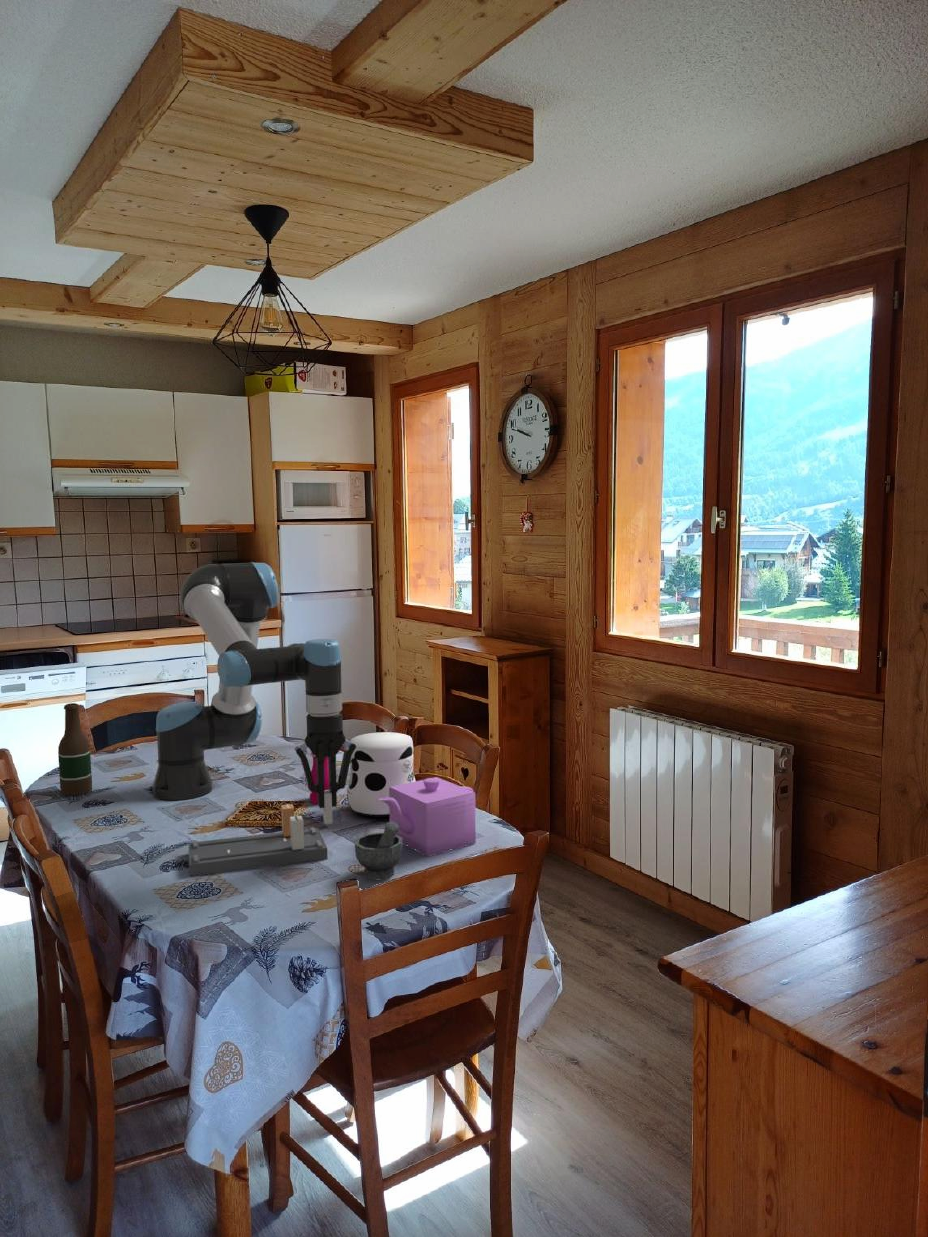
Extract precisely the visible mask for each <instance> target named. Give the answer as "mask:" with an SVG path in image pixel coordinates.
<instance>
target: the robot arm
mask: <svg viewBox="0 0 928 1237" xmlns="http://www.w3.org/2000/svg"><path fill="white" fill-rule="evenodd" d="M278 587H279V586H278V582H277V578H276V574H275V573H274V570H273V569H272V567H271V566H270V565H269V564H268V563H265V562H254V561H251V562H237V563H235V562H234V563H210V564H206V565H205V564H204V565H202V566H200V567H198V568H196V569H194V570H193V571H192V572H191V573H189V575H188V576H187V577H186V578H185V580H184V581H183V583H182V585H181V589H180V592H179V595H180V603H181V606H182V608H183V610H184V611H185V613H186V614H187V615H188V617H190V618H191V619H192V620H195V621H196V622H197V623H198V625H199V627H200V628H201V630H202V632H203V633H204V635H205V637H206V638H207V640H208V641H209V642H210V644H211V645H212V647H213V649H214V650H215V652H216V653H217V655H218V659H217V664H216V667H217V668H216V670H217V676H218V677H219V681H218V683H219V684H218V690H217V692H216V693H215V694H213V696H212V697H211V702H210V703H211V705H206V706H204V705H202V703H201V702H200V701H183V702H178V703H174V704H171V705H168V706H166V707H163V708H162V709H161V710H159V711H158V712H157V715H156V723H155V724H156V726H155V731H156V740H157V741H156V742H157V758H158V759H157V760H158V761H157V762H158V765H157V770H156V773H155V777H154V780H153V783H152V796H153V797H154V798H156V799H160V800H164V801H166V800H168V801H178V800H182V801H183V800H188V799H194V798H198V797H202V796H204V795H207V794H209V793H210V792H212V790H213V780H212V778H211V775H210V772H209V770H208V768H207V765H206V764H207V763H206V762H205V751H207V750H213V749H220V748H221V749H222V748H227V747H235V746H239V747H240V746H243V745H246V744H250V743H253V742H254V741H256V740H257V739H258V737H259V735H260V732H261V729H262V725H263V723H262V722H263V721H262V720H263V719H262V716H263V715H262V709H261V707H260V705H259V703H258V702H257V701H256V698H255V697H254V696H253V695H252V690H253V689H252V688H253V686H256V685H264V684H273V683H283V682H291V681H304V683H305V684H304V685H305V711H306V713H308V714H306V737H305V738H304V742H303V743H302V744H300V745H298V746H295V748H294V750H295V753H296V755H297V756H298V757H299V759H300V762H301V765H302V768H303V772H304V776H305V779H306V782H307V783H308V786H309V789H310V790H311V791H310V790H309V789H308V790H309V791H310V792H311V793H312V792H317V793H318V804H317V805H318V807H319V809H322V811H323V812H322V813H323V822H324V824H325V825H329V824H331V825H332V824H333V808H334V807H337V804H338V802H337V800H338V796H337V793H338V791H339V790H341V789H345V787H346V783H347V779H348V778H347V777H348V774H349V770H350V760H351V755H352V753H353V752H354V750H355V748H356V745H355V744H354V743H353V742H350V741H351V740H350V741H349V740H348V739H346V738H347V737H346V735H345V734H344V724H343V720H344V719H343V718H344V717H343V714H342V712H341V711H343V696H342V654H341V646H340V643H339V641H338V640H336V639H333V638H331V639H329V638H317V639H309V640H307V641H306V642H305V643H302V642H301V643H299V642H298V643H290V644H289V645H286V646H277V647H266V648H258V644H259V637H260V636H259V635H260V627H261V623H262V622H263V621H265V620H266V619H267V617H268V611H269V609H273V608H275V607H277V606H278V604H279V588H278ZM342 748H343V750H344V751H343V755H342V760H341V764H340V768H339V774H338V780H337V754H338V753H339V751H340V750H341V749H342ZM308 749H309V750H310V752H311V751H312V752H313V754H314V755H315V756H316V767H317V785H315V784H314V780H313V777H312V773H311V770H312V769H311V767H310V763H309V760H308V757H307V756H306V755H307V754H308ZM326 756H328V765H329V788H330V790H325V789H324V757H326ZM307 783H306V784H307Z"/></svg>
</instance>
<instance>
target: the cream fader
mask: <svg viewBox="0 0 928 1237" xmlns="http://www.w3.org/2000/svg"><path fill="white" fill-rule="evenodd" d="M304 830H305V829H304V819H303V816H302V815H294V816H293V817H290V834H291V847H292V850H296V849H304Z"/></svg>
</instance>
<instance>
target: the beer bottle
mask: <svg viewBox="0 0 928 1237" xmlns="http://www.w3.org/2000/svg"><path fill="white" fill-rule="evenodd" d="M79 709H80V704H78V703H76V702H73V703H67V704H65V705H64V706H63V710H64V734H63V736H62V738H61V740H60V741H59V743H58V744H59V745H58V746H57V747H58V750H57V755H58V770H59V772H58V773H59V787H60V794H61V795H63V796H64V797H80V796H84V795H85V796H86V795H88V794H89V793H90V792H92V790H93V777H92V756H91V746H90V743H89V741H88V738H87V737H86V736H85V734H83V731H82V726H81V721H80V713H79Z"/></svg>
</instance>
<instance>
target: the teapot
mask: <svg viewBox="0 0 928 1237" xmlns="http://www.w3.org/2000/svg"><path fill="white" fill-rule="evenodd" d="M378 800H379V801H382V802H385V803H386V804H387V805H388V806H389V810H390V816H389V822H394V823H396V824H397V825H398V826H399V829H398V832H397V833H396V835H398V836H400V837H402V843H403V844H402V845H404V844H405V845H404V846H406V845H408V846H409V847H408V846H407V847H408V848H410V847H411V848H410V849H412V848H413V849H412V850H414V849H416V850H417V851H419V852H420V853H419V852H418V853H419V854H421V853H422V854H421V855H423V854H424V855H423V856H425V855H426V856H425V857H427V856H428V857H431V856H430V855H432V856H434V855H433V854H436V855H439V854H442V852H443V853H445V852H444V851H446V852H449V851H448V850H450V849H454V850H457V849H460V848H459V847H461V848H463V847H462V846H464V847H466V846H465V845H468V846H471V844H472V845H475V844H476V842H477V838H476V836H477V835H476V834H477V833H476V832H477V831H476V830H477V828H476V824H477V823H476V792H475V791H474V789H473V788H471V787H469V786H464V785H463V786H460V785H458V784H456V783H452V782H450V781H448V780H444V779H442V778H440V777H437V776H435V777H428V778H425V779H420V780H416V782H411V783H406V784H402V785H397V786H393V787H390V788H389V797H385V798H380V799H378ZM474 843H475V844H474ZM456 848H457V849H456ZM417 851H416V852H417ZM450 851H451V850H450ZM438 853H439V854H438Z"/></svg>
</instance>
